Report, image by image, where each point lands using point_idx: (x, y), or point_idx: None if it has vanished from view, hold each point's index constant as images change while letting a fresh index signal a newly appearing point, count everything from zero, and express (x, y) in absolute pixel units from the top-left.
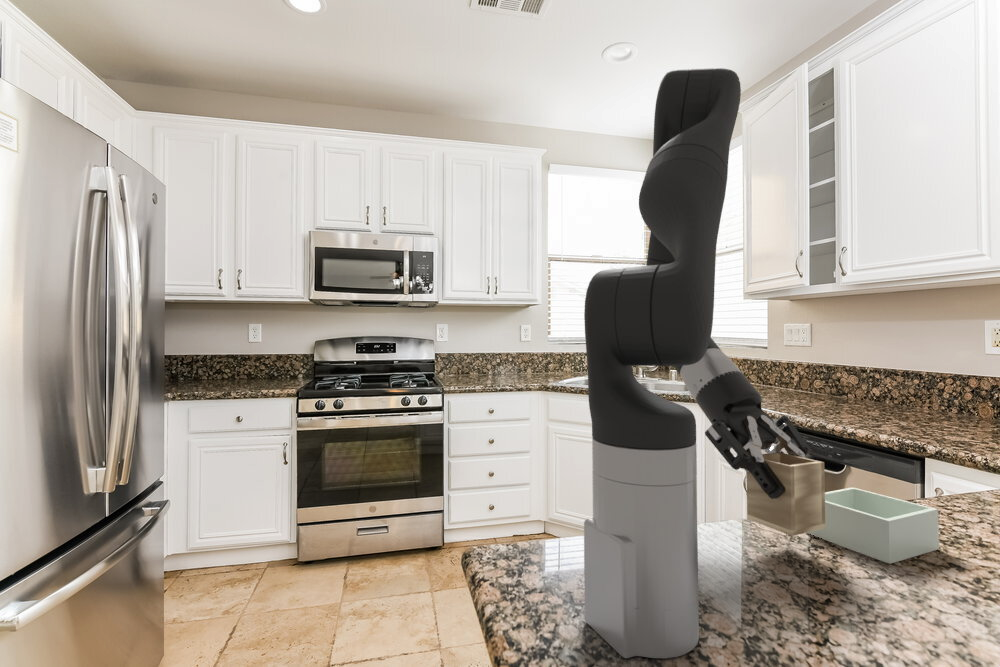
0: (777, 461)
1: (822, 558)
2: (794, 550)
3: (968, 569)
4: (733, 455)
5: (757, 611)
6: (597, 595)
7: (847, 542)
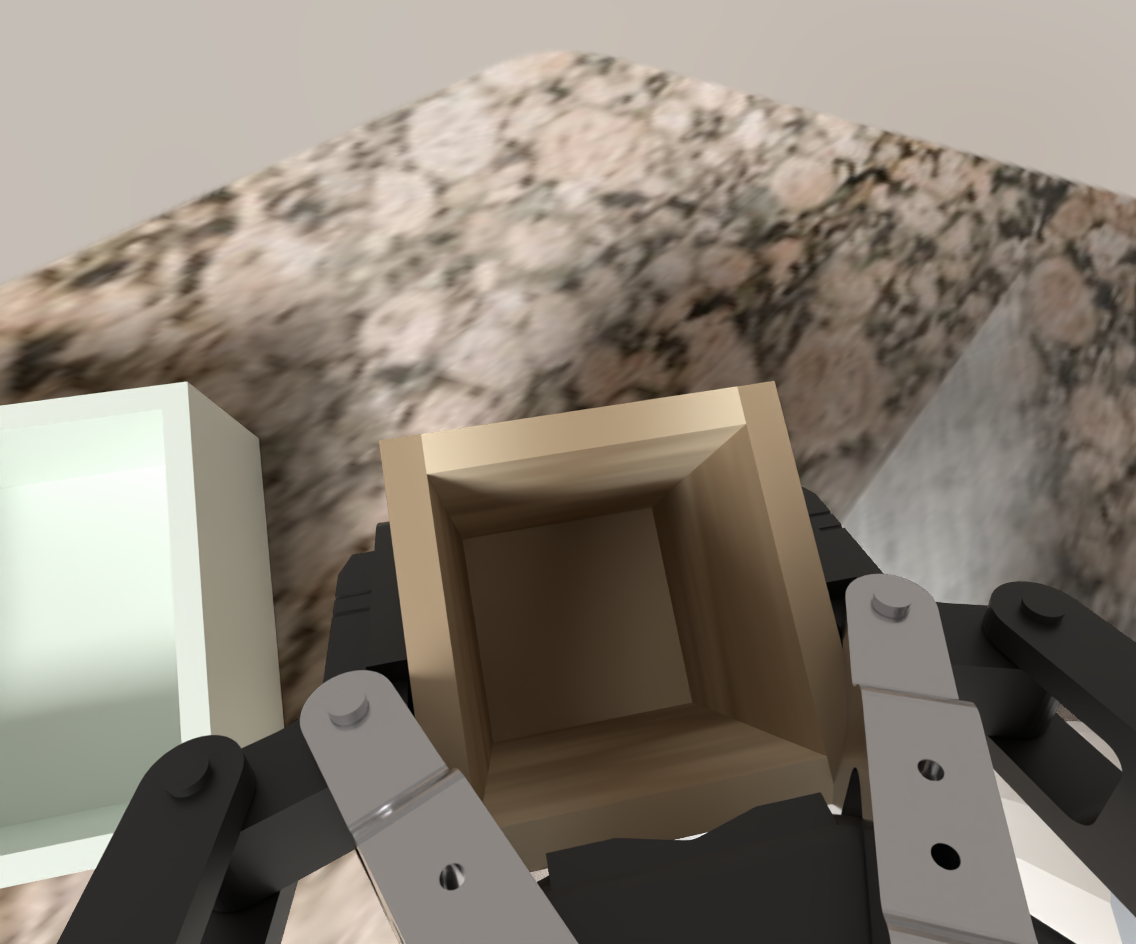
0: (517, 803)
1: None
2: None
3: (19, 335)
4: (1030, 782)
5: (936, 317)
6: None
7: (263, 591)
